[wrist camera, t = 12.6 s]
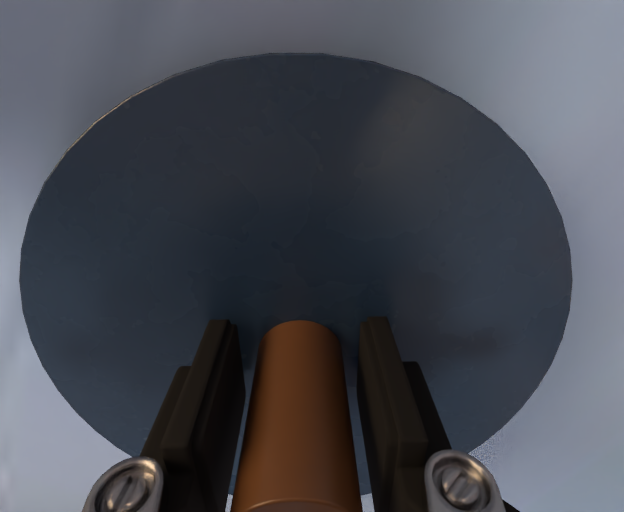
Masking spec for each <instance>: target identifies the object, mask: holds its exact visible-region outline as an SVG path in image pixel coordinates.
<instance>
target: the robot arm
mask: <svg viewBox="0 0 624 512" xmlns="http://www.w3.org/2000/svg"><path fill="white" fill-rule="evenodd" d="M356 393H357V402H358V408H359V415H360V421H361V427H362V434H363V440H364V446H365V453H366V459H367V466H368V472H369V478H370V485H371V491H372V497H373V504H374V510H375V512H520V511H518V510H517V509H515V508H514V507H513V506H511V505H510V504H508V503H507V502H505V501H504V500H503V499H502V498H501V494H500V491H499V488H498V486H497V484H496V481H495V479H494V477H493V475H492V474H491V473H490V472H489V470H488V469H487V468H486V467H485V465H483V464H482V463H481V462H480V461H478V460H477V459H476V458H475V457H473V456H471V455H469V454H467V453H465V452H461V451H457V450H452V447H451V445H450V442H449V440H448V437H447V435H446V432H445V429H444V427H443V424H442V422H441V419H440V417H439V414H438V411H437V409H436V406H435V404H434V401H433V399H432V396H431V393H430V391H429V388H428V386H427V383H426V381H425V378H424V376H423V373H422V370H421V368H420V366H419V364H418V363H417V362H416V361H402V360H401V357H400V354H399V351H398V348H397V345H396V342H395V339H394V336H393V333H392V330H391V327H390V324H389V321H388V318H387V317H386V316H374V317H367V322H361V323H360V336H359V352H358V368H357V385H356ZM245 399H246V388H245V380H244V373H243V366H242V358H241V351H240V344H239V336H238V329H237V325H236V324H231V322H230V320H229V319H220V320H209V322H208V324H207V327H206V329H205V332H204V334H203V337H202V340H201V342H200V345H199V347H198V350H197V352H196V355H195V357H194V360H193V363H192V365H191V366H180V367H179V368H178V370H177V371H176V373H175V376H174V378H173V380H172V382H171V385H170V387H169V389H168V392H167V394H166V396H165V399H164V401H163V403H162V405H161V408H160V410H159V412H158V415H157V417H156V419H155V422H154V424H153V426H152V428H151V431H150V433H149V435H148V438H147V440H146V442H145V444H144V447H143V449H142V451H141V454H140V456H139V457H132V458H129V459H125V460H123V461H121V462H119V463H117V464H115V465H114V466H112V467H111V468H110V469H108V470H107V471H106V472H105V473H104V474H102V475H101V477H100V478H99V479H98V480H97V481H96V483H95V484H94V485H93V487H92V489H91V491H90V493H89V495H88V497H87V499H86V502H85V505H84V507H83V510H82V512H225V508H226V503H227V497H228V492H229V487H230V481H231V476H232V470H233V465H234V460H235V454H236V449H237V443H238V438H239V433H240V427H241V422H242V416H243V411H244V405H245Z"/></svg>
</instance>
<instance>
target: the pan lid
mask: <svg viewBox="0 0 624 512" xmlns="http://www.w3.org/2000/svg"><path fill="white" fill-rule="evenodd" d="M19 282H20V291H21V300H22V309H23V314H24V317H25V321H26V325H27V328H28V332H29V335H30V339H31V341H32V344H33V346H34V348H35V350H36V352H37V355H38V357H39V359H40V361H41V363H42V366H43V367H44V369H45V371H46V372H47V374H48V375H49V377H50V378H51V380H52V382H53V383H54V385H55V386H56V388H57V390H58V391H59V392H60V393H61V395H62V396H63V397H64V398H65V399H66V401H67V402H68V403H69V404H70V405H71V407H72V408H73V409H74V410H75V411H76V412H77V413H78V414H79V415H80V416H81V417H82V418H83V419H84V420H85V421H86V422H87V423H88V424H89V425H90V426H91V427H92V428H93V429H94V430H95V431H97V432H98V433H99V434H100V435H102V436H103V437H104V438H106V439H107V440H108V441H110V442H111V443H112V444H113V445H115V446H116V447H117V448H119V449H121V450H122V451H124V452H125V453H127V454H129V455H130V456H132V457H139V456H140V454H141V451H142V449H143V447H144V444H145V442H146V440H147V438H148V435H149V433H150V431H151V428H152V426H153V424H154V422H155V419H156V417H157V415H158V412H159V410H160V408H161V405H162V403H163V401H164V399H165V396H166V394H167V392H168V389H169V387H170V385H171V382H172V380H173V378H174V376H175V373H176V371H177V370H178V368H179V367H180V366H191V365H192V363H193V360H194V357H195V355H196V352H197V350H198V347H199V345H200V342H201V340H202V337H203V334H204V332H205V329H206V327H207V324H208V322H209V320H220V319H229V320H230V322H231V324H236V325H237V329H238V336H239V344H240V351H241V358H242V366H243V373H244V380H245V388H246V399H245V405H244V411H243V416H242V422H241V427H240V433H239V438H238V443H237V449H236V454H235V460H234V465H233V470H232V476H231V481H230V487H229V492H228V494H231V495H233V499H232V505H231V511H230V512H363V510H362V503H361V495H365V494H370V493H372V491H371V485H370V478H369V472H368V466H367V459H366V453H365V446H364V440H363V434H362V427H361V421H360V415H359V408H358V402H357V393H356V385H357V368H358V352H359V336H360V323H361V322H367V317H374V316H386V317H387V318H388V321H389V324H390V327H391V330H392V333H393V336H394V339H395V342H396V345H397V348H398V351H399V354H400V357H401V360H402V361H416V362H417V363H418V364H419V366H420V368H421V370H422V373H423V376H424V378H425V381H426V383H427V386H428V388H429V391H430V393H431V396H432V399H433V401H434V404H435V406H436V409H437V411H438V414H439V417H440V419H441V422H442V424H443V427H444V429H445V432H446V435H447V437H448V440H449V442H450V445H451V447H452V450H457V451H461V452H465V453H467V454H468V453H469V452H471V451H472V450H474V449H475V448H477V447H478V446H480V445H481V444H483V443H484V442H485V441H486V440H487V439H489V438H490V437H491V436H492V435H494V434H495V433H496V432H497V431H499V430H500V429H501V428H502V427H503V426H504V425H505V424H506V423H507V422H508V421H509V420H510V419H511V418H512V417H513V416H514V415H515V414H516V413H517V412H518V411H519V410H520V409H521V408H522V407H523V405H524V404H525V403H526V402H527V400H528V399H529V398H530V396H531V395H532V394H533V393H534V391H535V390H536V389H537V387H538V386H539V384H540V382H541V381H542V379H543V377H544V376H545V374H546V372H547V371H548V369H549V367H550V366H551V364H552V362H553V359H554V357H555V355H556V352H557V350H558V347H559V345H560V343H561V340H562V338H563V334H564V330H565V326H566V322H567V318H568V315H569V311H570V300H571V290H572V270H571V256H570V248H569V244H568V240H567V236H566V232H565V228H564V224H563V220H562V217H561V214H560V212H559V210H558V208H557V206H556V203H555V201H554V199H553V197H552V195H551V192H550V190H549V188H548V186H547V184H546V182H545V181H544V179H543V178H542V176H541V175H540V174H539V172H538V171H537V169H536V168H535V166H534V165H533V163H532V162H531V160H530V159H529V158H528V156H527V155H526V153H525V152H524V151H523V150H522V149H521V148H520V147H519V146H518V145H517V144H516V143H515V142H514V141H513V140H512V139H511V138H510V137H509V136H508V135H507V134H506V133H505V132H504V131H503V130H502V129H501V128H500V126H499V125H498V124H497V123H495V122H494V121H492V120H491V119H490V118H488V117H487V116H486V115H484V114H483V113H481V112H480V111H479V110H477V109H476V108H475V107H473V106H472V105H470V104H469V103H468V102H466V101H465V100H464V99H462V98H461V97H459V96H457V95H455V94H453V93H451V92H449V91H447V90H445V89H443V88H441V87H439V86H437V85H435V84H433V83H431V82H429V81H427V80H425V79H423V78H421V77H419V76H416V75H413V74H410V73H407V72H404V71H401V70H398V69H394V68H391V67H388V66H385V65H382V64H379V63H376V62H373V61H366V60H360V59H354V58H348V57H342V56H336V55H330V54H323V53H268V54H261V55H254V56H247V57H240V58H232V59H225V60H220V61H217V62H214V63H210V64H207V65H204V66H200V67H197V68H194V69H190V70H187V71H184V72H181V73H177V74H174V75H172V76H170V77H168V78H166V79H164V80H162V81H160V82H158V83H156V84H154V85H152V86H150V87H147V88H145V89H143V90H141V91H139V92H137V93H135V94H133V95H131V96H130V97H129V98H127V99H126V100H124V101H123V102H121V103H120V104H119V105H117V106H116V107H114V108H113V109H112V110H110V111H109V112H107V113H106V114H105V115H103V116H102V117H100V118H99V119H98V120H96V121H95V122H94V123H93V124H92V125H91V126H90V127H89V128H88V129H87V130H86V131H85V132H84V133H83V134H82V135H81V136H80V137H79V138H78V139H77V140H76V141H75V142H74V143H73V144H72V145H71V146H70V147H69V148H68V149H67V150H66V152H65V153H64V155H63V156H62V157H61V159H60V160H59V162H58V163H57V165H56V166H55V168H54V169H53V171H52V172H51V173H50V175H49V176H48V178H47V179H46V181H45V182H44V184H43V187H42V189H41V191H40V193H39V195H38V198H37V200H36V202H35V204H34V207H33V209H32V211H31V213H30V215H29V219H28V223H27V227H26V232H25V236H24V240H23V244H22V248H21V262H20V278H19Z"/></svg>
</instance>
